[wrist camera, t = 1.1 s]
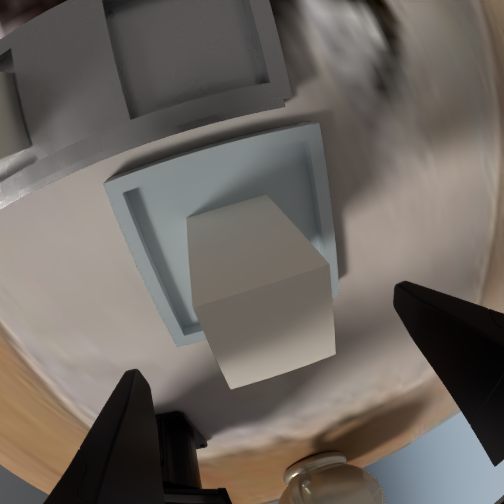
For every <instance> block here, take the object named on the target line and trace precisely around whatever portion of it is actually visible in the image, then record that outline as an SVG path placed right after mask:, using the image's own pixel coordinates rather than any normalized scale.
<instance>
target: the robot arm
mask: <svg viewBox="0 0 504 504" xmlns="http://www.w3.org/2000/svg"><path fill="white" fill-rule="evenodd" d="M393 305H394V308H395V310H396V312H397V313H398V315H399V317H400V318H401V320H402V322H403V324H404V325H405V327H406V329H407V331H408V332H409V334H410V336H411V337H412V339H413V341H414V342H415V344H416V345H417V347H418V348H419V349H420V351H421V352H422V354H423V355H424V356H425V358H426V359H427V361H428V362H429V363H430V365H431V366H432V368H433V369H434V371H435V372H436V374H437V375H438V377H439V378H440V379H441V381H442V382H443V384H444V385H445V387H446V388H447V390H448V391H449V393H450V394H451V396H452V397H453V399H454V401H455V402H456V404H457V405H458V407H459V408H460V410H461V411H462V413H463V415H464V416H465V418H466V419H467V421H468V423H469V424H470V425H471V428H472V429H473V431H474V433H475V434H476V436H477V438H478V439H479V441H480V443H481V444H482V446H483V448H484V450H485V451H486V453H487V455H488V456H489V458H490V460H491V462H492V464H493V465H494V466H497V465H498V464H499V463H500V462H501V461H503V460H504V314H503V313H500V312H497V311H494V310H491V309H488V308H485V307H483V306H480V305H477V304H474V303H471V302H468V301H465V300H462V299H459V298H456V297H453V296H450V295H447V294H444V293H441V292H438V291H435V290H432V289H429V288H426V287H423V286H420V285H417V284H414V283H411V282H408V281H402V282H400V283H398V284H396V285H395V287H394V299H393ZM205 447H207V441H206V440H205V439H204V438H203V436H202V435H201V434H200V433H199V432H198V430H197V429H196V428H195V427H194V426H193V424H192V423H191V422H190V421H189V419H188V418H187V417H186V415H185V414H184V413H182V412H174V413H169V414H163V415H158V416H155V413H154V407H153V401H152V395H151V389H150V386H149V383H148V382H147V381H146V379H145V378H144V376H143V375H142V374H141V372H140V371H139V370H138V369H132V370H128V371H126V372H125V373H124V375H123V376H122V378H121V379H120V381H119V383H118V384H117V386H116V388H115V389H114V391H113V392H112V394H111V396H110V397H109V399H108V401H107V402H106V404H105V406H104V407H103V409H102V411H101V412H100V414H99V416H98V417H97V419H96V421H95V422H94V424H93V426H92V427H91V429H90V431H89V433H88V434H87V436H86V438H85V439H84V441H83V443H82V445H81V446H80V449H79V450H78V451H77V453H76V455H75V457H74V458H73V460H72V462H71V463H70V465H69V467H68V468H67V470H66V471H65V473H64V474H63V476H62V477H61V479H60V480H59V482H58V483H57V485H56V486H55V488H54V489H53V490H52V492H51V493H50V495H49V496H48V498H47V499H46V501H45V502H44V503H43V504H232V502H231V500H230V498H229V495H228V493H227V490H226V488H218V489H202V485H201V479H200V473H199V466H198V460H197V453H196V449H200V448H205ZM495 504H504V495H503V496H502V497H501V498H500V499H499V500H498V501H497V502H495Z"/></svg>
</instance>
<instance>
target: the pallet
mask: <svg viewBox="0 0 504 504" xmlns="http://www.w3.org/2000/svg"><path fill="white" fill-rule="evenodd" d="M0 72H8V73H12V74H13V80H14V85H15V90H16V94H17V99H18V103H19V107H20V111H21V115H22V119H23V123H24V127H25V130H26V134H27V137H28V141H29V144H30V147H31V148H29V149H27V150H25V151H24V152H22V153H20V154H18V155H17V156H15V157H13V158H12V159H10V160H8V161H7V162H5V163H4V164H2V165H0V209H2V208H4V207H5V206H7V205H9V204H11V203H13V202H14V201H16V200H18V199H20V198H22V197H24V196H26V195H27V194H29V193H31V192H33V191H35V190H37V189H39V188H41V187H43V186H45V185H47V184H49V183H51V182H54V181H56V180H58V179H60V178H62V177H64V176H66V175H69V174H71V173H73V172H75V171H78V170H80V169H82V168H84V167H87V166H89V165H92V164H94V163H96V162H99V161H101V160H104V159H106V158H109V157H111V156H114V155H116V154H119V153H122V152H124V151H127V150H130V149H133V148H135V147H138V146H141V145H144V144H147V143H150V142H152V141H155V140H158V139H162V138H165V137H168V136H171V135H174V134H177V133H181V132H184V131H187V130H191V129H194V128H198V127H201V126H205V125H208V124H212V123H216V122H220V121H224V120H227V119H232V118H236V117H240V116H244V115H248V114H253V113H257V112H262V111H267V110H272V109H277V108H282V107H285V102H284V99H290V98H293V96H292V92H291V87H290V82H289V78H288V73H287V69H286V65H285V60H284V56H283V52H282V48H281V44H280V40H279V36H278V32H277V28H276V24H275V20H274V16H273V13H272V9H271V5H270V2H269V0H67V1H65V2H63V3H61V4H59V5H57V6H55V7H54V8H52V9H50V10H48V11H46V12H44V13H42V14H41V15H39V16H37V17H35V18H34V19H32V20H30V21H28V22H27V23H25V24H24V25H22V26H20V27H19V28H17V29H16V30H14V31H12V32H11V33H9V34H8V35H6V36H5V37H4V38H2V39H1V40H0Z"/></svg>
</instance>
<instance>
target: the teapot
mask: <svg viewBox="0 0 504 504" xmlns="http://www.w3.org/2000/svg"><path fill="white" fill-rule="evenodd" d="M346 461H347V459H346V456H345V455H344V454H343V453H341V452H325V453H321V454H317V455H314V456H311V457H308V458H306V459H304V460H301V461H299V462H297V463H296V464H294V465H292V466H291V467H290V468H288V469H287V470H286V472H285V473H284V476H283V480H284V482H285V483H286V484H287V485H288V487H287V488H286V489H285V491H284V492H283V494H282V496H281V498H280V500H279V504H385V496H384V492H383V490H382V487H381V486H380V484H379V482H378V481H377V480H376V479H375V478H374V476H372V475H371V474H370V473H368V472H367V471H365V470H364V469H362V468H359V467H357V466H353V465H349V464H346Z"/></svg>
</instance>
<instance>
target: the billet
mask: <svg viewBox="0 0 504 504" xmlns="http://www.w3.org/2000/svg"><path fill="white" fill-rule="evenodd" d="M186 224H187V241H188V257H189V270H190V283H191V294H192V305H193V309H194V311H195V314H196V316H197V318H198V321H199V323H200V325H201V327H202V330H203V332H204V334H205V336H206V339H207V341H208V343H209V345H210V347H211V350H212V352H213V354H214V356H215V358H216V360H217V362H218V364H219V367H220V369H221V371H222V373H223V375H224V377H225V379H226V381H227V383H228V385H229V387H230V389H234V388H238V387H242V386H245V385H248V384H252V383H255V382H258V381H262V380H265V379H268V378H271V377H274V376H277V375H280V374H283V373H286V372H289V371H292V370H295V369H298V368H301V367H303V366H306V365H309V364H312V363H314V362H317V361H320V360H322V359H325V358H328V357H330V356H333V355H335V354H336V350H335V330H334V313H333V299H332V286H331V275H330V264H329V263H328V262H327V261H326V260H325V258H324V257H323V256H322V255H321V254H320V253H319V252H318V250H317V249H316V248H315V247H314V246H313V245H312V244H311V243H310V241H309V240H308V239H307V238H306V237H305V236H304V235H303V234H302V233H301V231H300V230H299V229H298V228H297V227H296V226H295V225H294V224H293V223H292V221H291V220H290V219H289V218H288V217H287V216H286V215H285V214H284V213H283V212H282V211H281V209H280V208H279V207H278V206H277V205H276V204H275V203H274V202H273V201H272V200H271V199H270V198H269V197H268V195H263V196H259V197H256V198H252V199H249V200H245V201H242V202H238V203H235V204H231V205H228V206H224V207H221V208H218V209H214V210H211V211H208V212H204V213H201V214H198V215H195V216H191V217H188V218H186Z"/></svg>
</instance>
